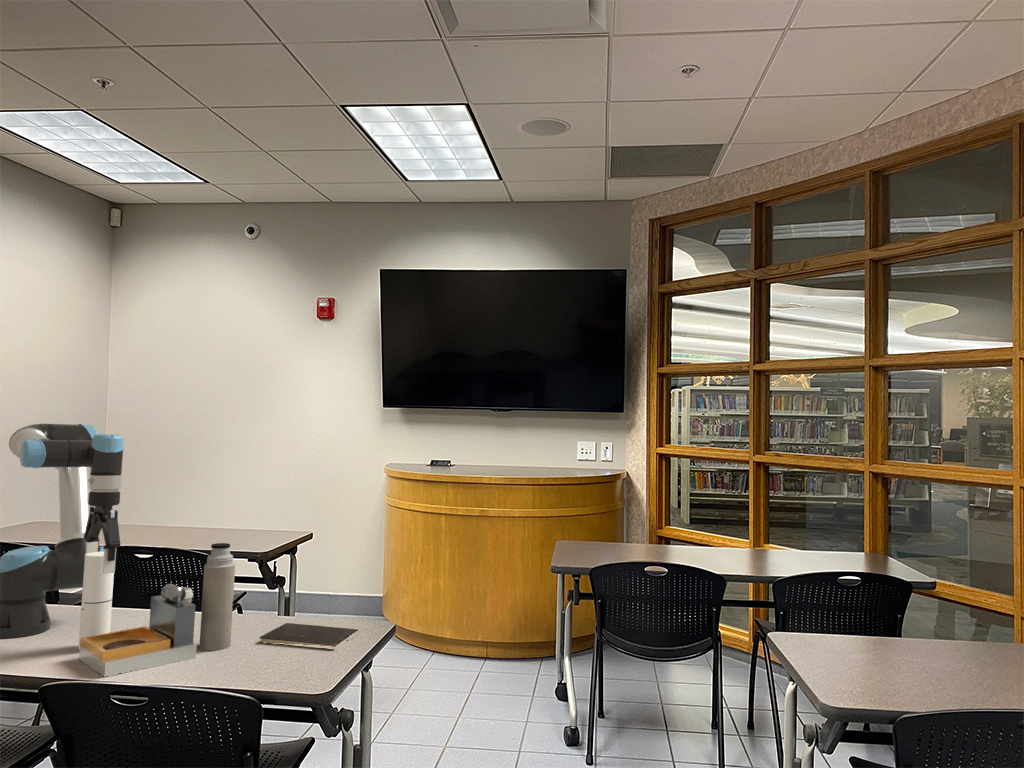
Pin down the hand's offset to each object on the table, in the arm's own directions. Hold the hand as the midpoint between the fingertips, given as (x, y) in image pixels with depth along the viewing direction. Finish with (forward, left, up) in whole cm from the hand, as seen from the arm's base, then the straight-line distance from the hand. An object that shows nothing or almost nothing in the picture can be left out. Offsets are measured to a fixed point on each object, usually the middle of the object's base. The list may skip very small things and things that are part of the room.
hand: (99, 569), depth 192 cm
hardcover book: (+31, +47, -22) cm, 60 cm away
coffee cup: (-1, +22, -21) cm, 31 cm away
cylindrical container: (0, 0, -21) cm, 21 cm away
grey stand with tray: (+17, +5, -21) cm, 27 cm away
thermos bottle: (+20, +24, -21) cm, 38 cm away
